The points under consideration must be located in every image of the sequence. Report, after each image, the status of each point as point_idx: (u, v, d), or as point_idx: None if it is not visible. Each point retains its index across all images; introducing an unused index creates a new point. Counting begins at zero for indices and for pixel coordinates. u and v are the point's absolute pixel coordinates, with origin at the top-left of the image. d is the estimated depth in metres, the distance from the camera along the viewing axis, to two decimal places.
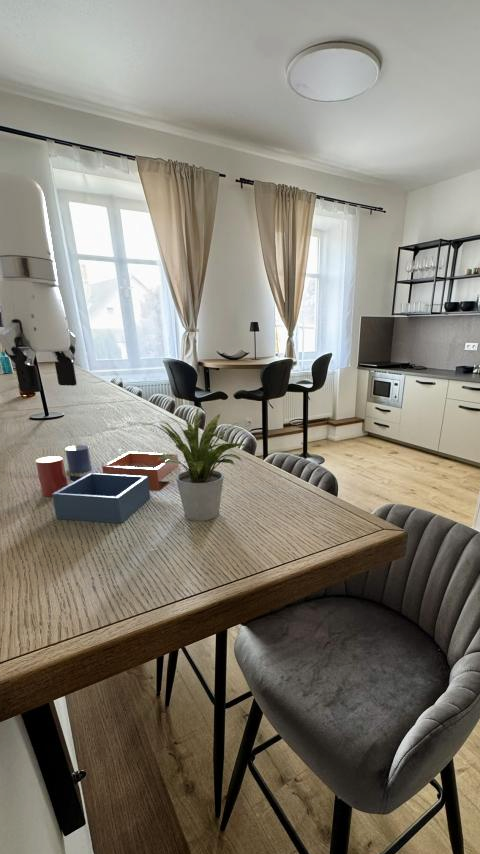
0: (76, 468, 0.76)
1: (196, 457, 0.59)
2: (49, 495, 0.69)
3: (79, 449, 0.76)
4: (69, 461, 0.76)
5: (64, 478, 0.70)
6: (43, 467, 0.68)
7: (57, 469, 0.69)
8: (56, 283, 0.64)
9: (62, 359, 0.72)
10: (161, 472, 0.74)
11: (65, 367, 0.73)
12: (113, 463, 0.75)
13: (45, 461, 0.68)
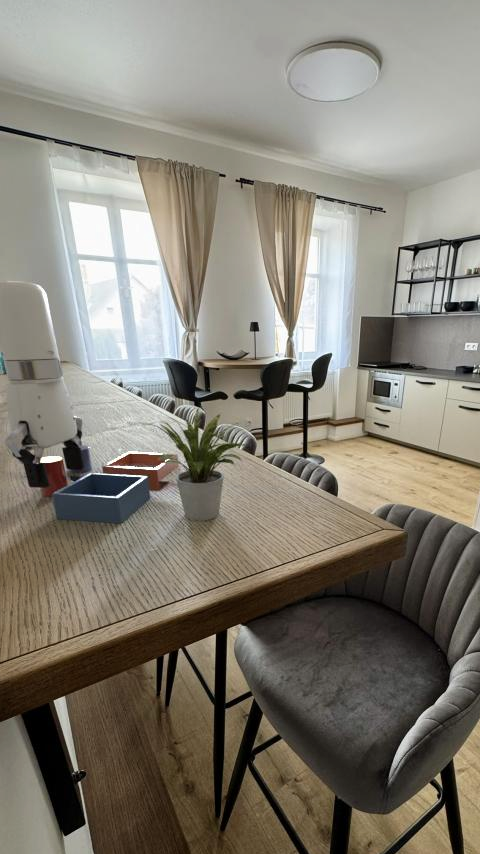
0: None
1: (196, 457, 0.59)
2: (49, 495, 0.69)
3: None
4: None
5: (64, 478, 0.70)
6: None
7: (57, 469, 0.69)
8: (61, 379, 0.64)
9: (69, 445, 0.72)
10: (161, 472, 0.74)
11: (73, 453, 0.73)
12: (113, 463, 0.75)
13: (45, 461, 0.68)
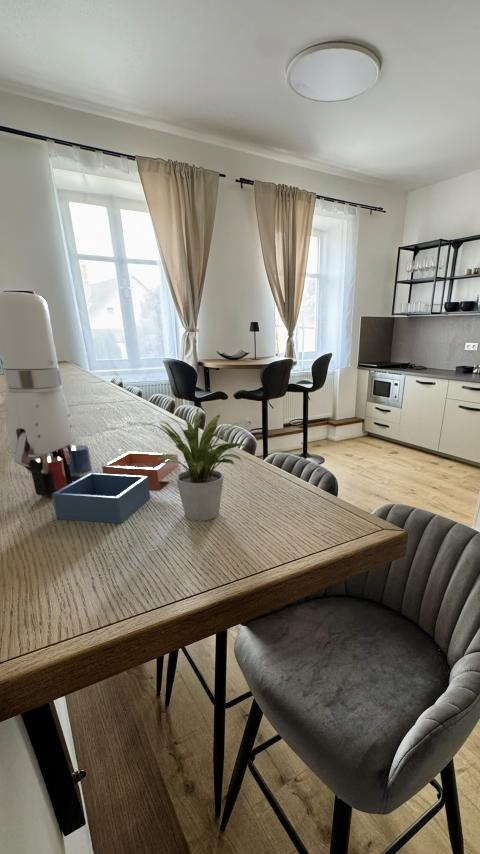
0: (76, 468, 0.76)
1: (196, 457, 0.59)
2: None
3: (79, 449, 0.76)
4: None
5: (64, 478, 0.70)
6: None
7: (57, 469, 0.69)
8: (60, 388, 0.65)
9: None
10: (161, 472, 0.74)
11: None
12: (113, 463, 0.75)
13: None
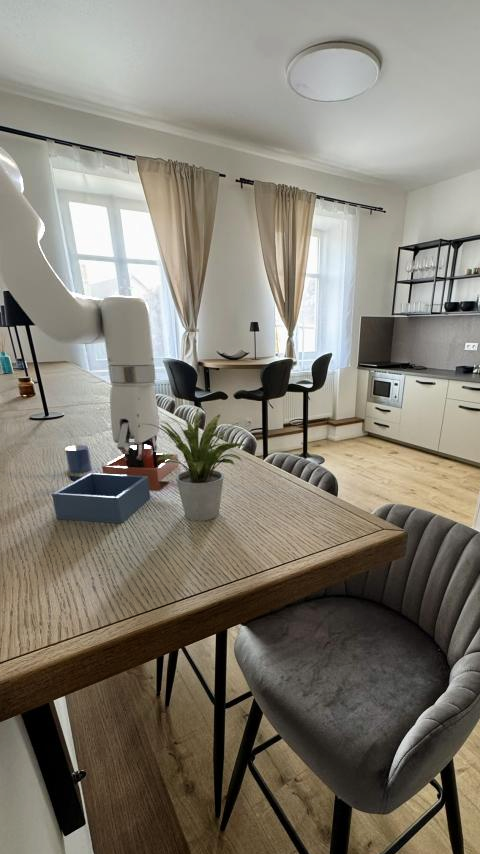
0: (76, 468, 0.76)
1: (196, 457, 0.59)
2: None
3: (79, 449, 0.76)
4: (69, 461, 0.76)
5: (153, 464, 0.77)
6: None
7: (148, 455, 0.75)
8: (155, 382, 0.72)
9: None
10: (161, 472, 0.74)
11: None
12: (113, 463, 0.75)
13: None
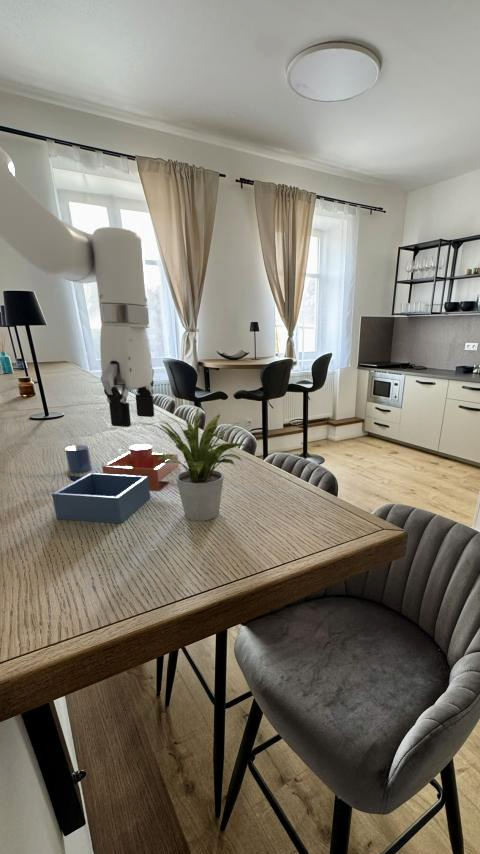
0: (76, 468, 0.76)
1: (196, 457, 0.59)
2: None
3: (79, 449, 0.76)
4: (69, 461, 0.76)
5: (153, 464, 0.77)
6: (137, 454, 0.74)
7: (148, 455, 0.75)
8: (148, 326, 0.69)
9: (143, 392, 0.77)
10: (161, 472, 0.74)
11: (145, 400, 0.77)
12: (113, 463, 0.75)
13: (138, 448, 0.75)
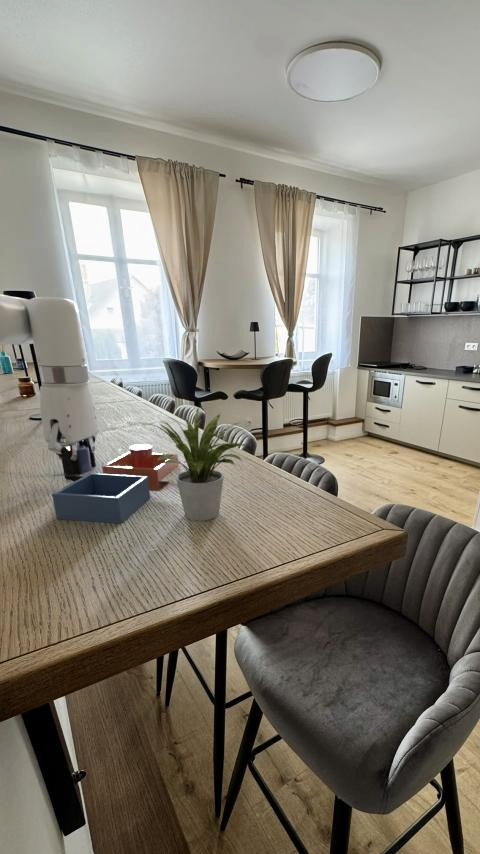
0: None
1: (196, 457, 0.59)
2: None
3: (79, 449, 0.76)
4: None
5: (153, 464, 0.77)
6: (137, 454, 0.74)
7: (148, 455, 0.75)
8: (88, 383, 0.73)
9: None
10: (161, 472, 0.74)
11: None
12: (113, 463, 0.75)
13: (138, 448, 0.75)
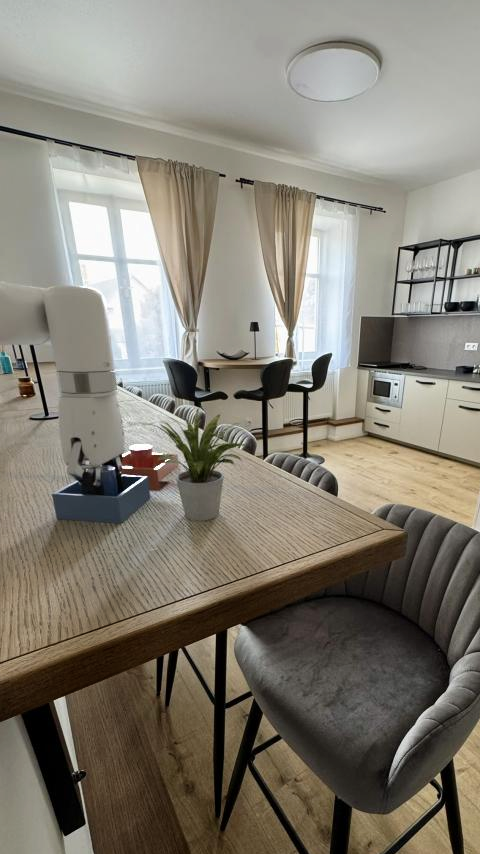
0: None
1: (196, 457, 0.59)
2: None
3: (104, 471, 0.62)
4: None
5: (153, 464, 0.77)
6: (137, 454, 0.74)
7: (148, 455, 0.75)
8: (116, 392, 0.59)
9: None
10: (161, 472, 0.74)
11: None
12: None
13: (138, 448, 0.75)
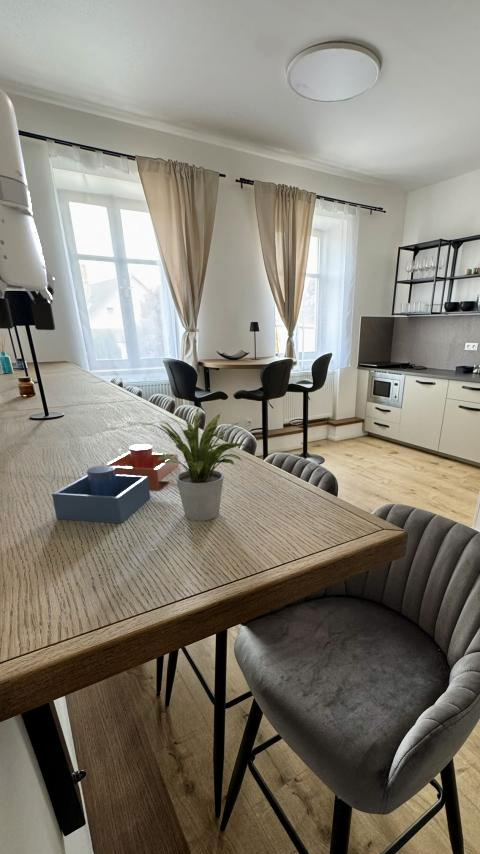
0: (100, 494, 0.62)
1: (196, 457, 0.59)
2: None
3: (104, 471, 0.62)
4: (92, 486, 0.62)
5: (153, 464, 0.77)
6: (137, 454, 0.74)
7: (148, 455, 0.75)
8: (29, 210, 0.59)
9: (39, 300, 0.67)
10: (161, 472, 0.74)
11: (42, 309, 0.68)
12: (113, 463, 0.75)
13: (138, 448, 0.75)
